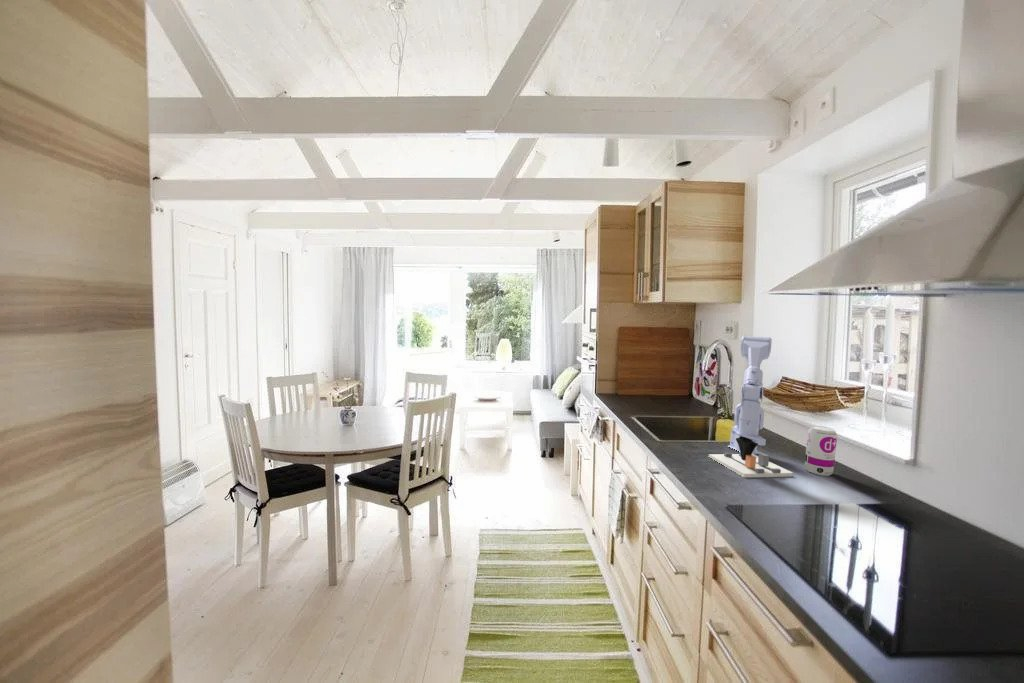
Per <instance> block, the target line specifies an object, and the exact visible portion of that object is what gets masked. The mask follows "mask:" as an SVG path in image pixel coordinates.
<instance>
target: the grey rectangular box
mask: <svg viewBox="0 0 1024 683" xmlns="http://www.w3.org/2000/svg"><path fill="white" fill-rule="evenodd" d="M758 456H759V458H758V464H759V465H761V466H768V463H769V462H770V461H769V460H770V455H768V454H766V453H763V452H761V453H759V454H758Z"/></svg>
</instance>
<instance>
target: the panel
mask: <svg viewBox="0 0 1024 683" xmlns="http://www.w3.org/2000/svg"><path fill="white" fill-rule="evenodd" d="M752 455H753V456H755V457H756V465H755V468H749V467H747V466H745V461H744V460H742V459H741V453H740V452H738V453H733V452H724V453H723V454H722V453H721V454H720V453H719V454H717V453H715V454H714V453H713V454H711V453H710V454H708V457H710V458H712V459H713V460H712V459H711V460H712V461H714V460H715V461H717V462H718V463H717V462H716V463H717V464H719V463H720V464H719V465H721V464H722V465H724V466H725V468H726V467H727V468H726V469H728V470H730V471H731V470H732V472H733V471H734V472H733V473H735V472H736V473H735V474H737V475H738V476H740V475H741V476H740V477H742V478H776V477H778V478H782V477H787V478H788V477H793V476H794V472H793V471H790V470H788V469H786V468H785V467H782V466H780V465H778V464H775V463H773V462H771V461H769V463H768V466H761V465H759V464H758V458H759V455H758V454H752ZM710 458H709V459H710ZM715 461H714V462H715ZM722 465H721V466H722ZM724 466H723V467H724Z"/></svg>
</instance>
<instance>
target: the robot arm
mask: <svg viewBox="0 0 1024 683" xmlns="http://www.w3.org/2000/svg"><path fill="white" fill-rule="evenodd" d="M772 340H773V339H772V338H771V337H770V336H768V337H763V336H752V335H751V336H750V335H743V336H741V344H740V355H741V357H742V358H744V359H745V360H746V362H747V368H746V369H745V370H744V371H743V372H744V374H743V381H742V385H741V388H740V389H741V390H740V403H738V404H737V405H736V406H735V410H734V416H733V417H734V418H733V420H734V421H733V424H734V426H733V427H731V430H730V441H729V444H728V445H727V447H728V448H729V447H730V449H732V448H733V449H732V450H734V449H735V450H734V451H736V450H737V451H736V452H738V451H739V452H738V453H741V459H742V460H744V461H745V460H746V455H752V454H754V455H759V453H762V452H761V451H759V450H758V445H759V446H766V441H767V439H765V438H763V437H762V436H760V434H759V431H760V430H762V429H763V428H764V420H765V419H764V418H765V410H764V408H763V406H761V404H762V402H763V398H764V386H763V384H764V383H763V380H764V379H763V377H764V372H763V370H762V369H761V364H762V363H763V361H765V360H768V359H769V358H770V354H771V352H772V351H771V350H772V344H773V343H772V342H773V341H772Z"/></svg>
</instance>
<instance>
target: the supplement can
mask: <svg viewBox="0 0 1024 683" xmlns="http://www.w3.org/2000/svg"><path fill="white" fill-rule="evenodd" d="M837 440H838V434H837V431H836V429H834V428H831V427H826V426H821V425H811V426H810V428H809V429H808V430H807V438H806V447H805V457H804V469H805V470H806V471H807V472H808V473H810V472H811V474H813V475H818V476H823V477H825V476H827V477H828V476H831V475H833V474H834V467H835V460H836V459H835V458H836V453H837V452H836V450H837V443H838V441H837Z"/></svg>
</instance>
